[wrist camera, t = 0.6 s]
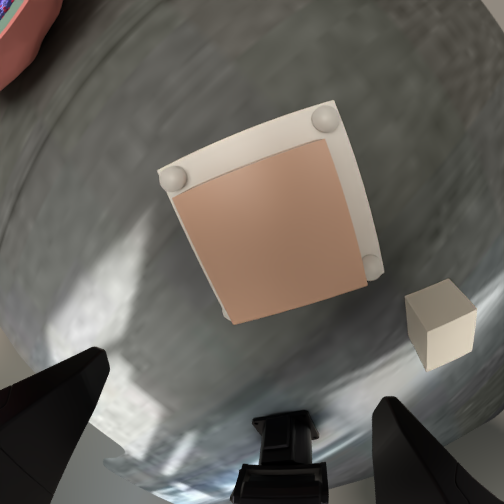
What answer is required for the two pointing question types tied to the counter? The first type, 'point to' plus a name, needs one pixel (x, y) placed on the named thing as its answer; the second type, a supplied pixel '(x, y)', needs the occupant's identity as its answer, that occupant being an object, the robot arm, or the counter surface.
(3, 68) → the cell model
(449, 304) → the cream brick
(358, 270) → the base plate
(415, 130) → the counter surface
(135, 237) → the counter surface
